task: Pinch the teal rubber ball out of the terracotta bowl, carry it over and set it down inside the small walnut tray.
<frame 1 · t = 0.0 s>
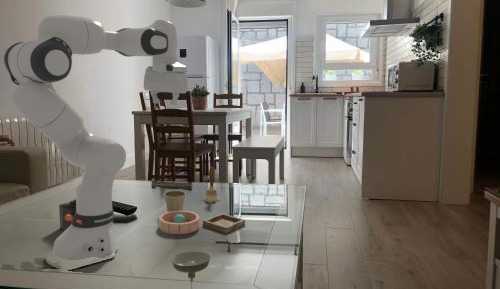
hand: (164, 104, 157), 48 cm above the table, fingers open, 8 cm apart
tray: (224, 225, 169), on the table
ball: (179, 225, 165), point 1 cm above the table, touching bowl
dark grey box: (82, 230, 159), on the table
flower pot: (174, 213, 181), on the table
hand bell: (211, 200, 201), on the table
bowl: (179, 226, 165), on the table
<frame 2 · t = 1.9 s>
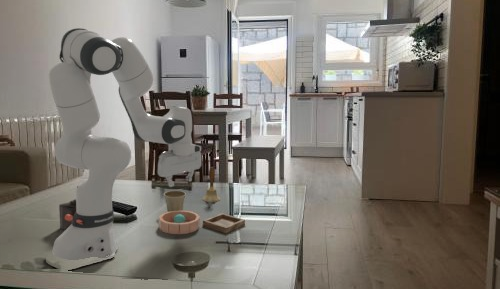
hand: (180, 183, 162), 17 cm above the table, fingers open, 8 cm apart
nothing on the table moved.
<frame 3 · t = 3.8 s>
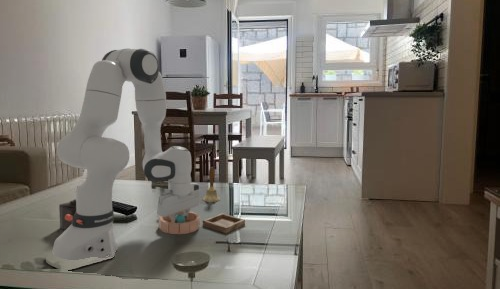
hand: (179, 221, 165), 2 cm above the table, fingers closed on ball, 4 cm apart
ball: (179, 225, 165), point 1 cm above the table, touching bowl, gripper
everything else where it was.
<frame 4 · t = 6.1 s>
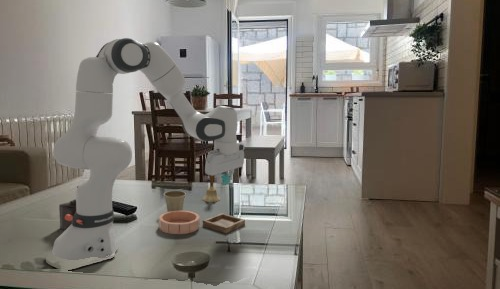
hand: (224, 181, 166), 18 cm above the table, fingers closed on ball, 4 cm apart
ball: (224, 185, 166), point 17 cm above the table, touching gripper
everything else where it was.
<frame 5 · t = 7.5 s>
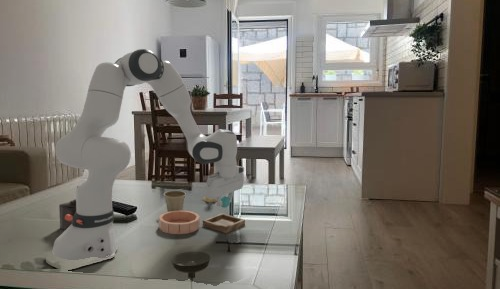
hand: (224, 204, 168), 9 cm above the table, fingers closed on ball, 4 cm apart
ball: (224, 207, 168), point 7 cm above the table, touching gripper
everything else where it was.
when the fingers open (4 cm above the table, at t = 8.7 s): ball drops 2 cm, resting on tray.
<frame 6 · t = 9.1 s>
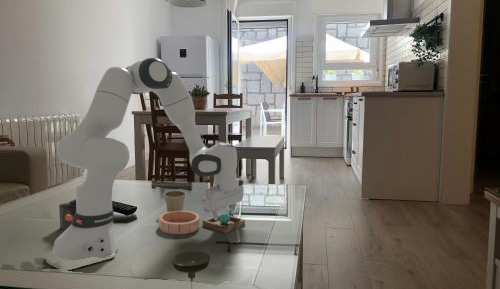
hand: (224, 216, 168), 4 cm above the table, fingers open, 8 cm apart
ball: (223, 223, 169), point 1 cm above the table, tilted 7°, touching tray
everything else where it was.
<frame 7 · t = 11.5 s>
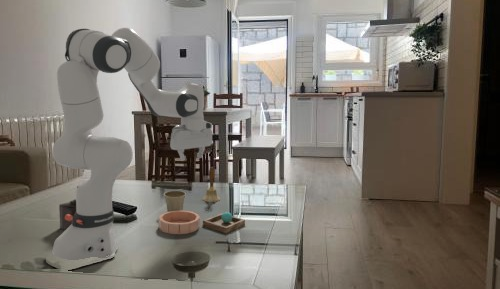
hand: (191, 159, 168), 26 cm above the table, fingers open, 8 cm apart
ball: (224, 222, 169), point 1 cm above the table, tilted 47°, touching tray
everything else where it was.
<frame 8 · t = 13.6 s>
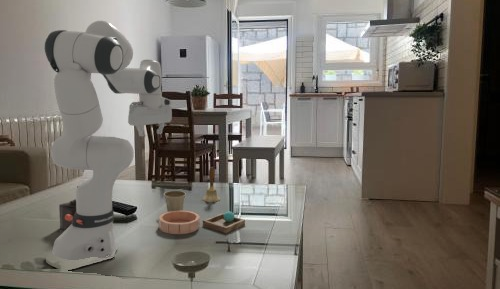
hand: (150, 134, 172), 34 cm above the table, fingers open, 8 cm apart
ball: (225, 219, 169), point 2 cm above the table, tilted 78°, touching tray
everything else where it was.
at the end: ball inside the target area on the tray (0.7 cm from its centre), point 2.3 cm above the tray's base; the gripper is holding nothing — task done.
